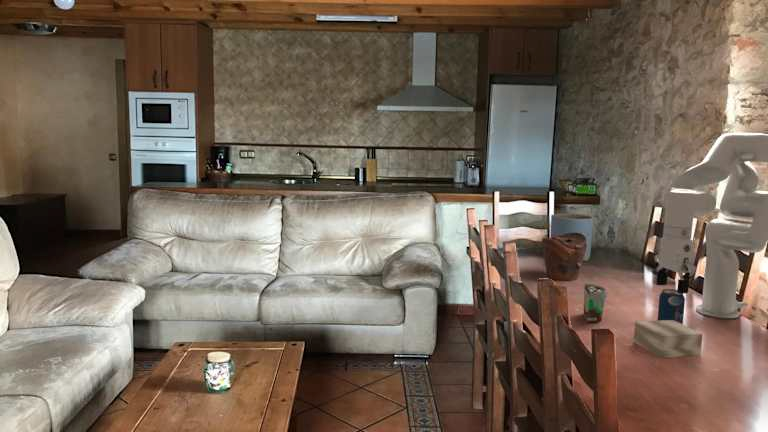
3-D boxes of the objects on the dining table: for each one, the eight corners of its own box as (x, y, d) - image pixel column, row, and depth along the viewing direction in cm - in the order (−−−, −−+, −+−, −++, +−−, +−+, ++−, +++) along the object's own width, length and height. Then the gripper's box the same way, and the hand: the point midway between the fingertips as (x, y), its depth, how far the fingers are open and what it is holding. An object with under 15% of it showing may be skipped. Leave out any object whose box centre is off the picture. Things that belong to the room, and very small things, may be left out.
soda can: (680, 335, 175) (684, 296, 173) (655, 330, 178) (658, 292, 176) (683, 328, 180) (686, 290, 179) (658, 324, 184) (661, 287, 182)
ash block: (671, 339, 171) (673, 319, 170) (700, 355, 159) (702, 334, 158) (633, 341, 169) (635, 321, 168) (660, 357, 157) (661, 336, 156)
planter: (596, 262, 270) (599, 219, 268) (555, 262, 271) (557, 219, 268) (583, 254, 289) (586, 213, 286) (544, 253, 290) (546, 213, 287)
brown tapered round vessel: (535, 279, 237) (538, 235, 235) (542, 269, 256) (545, 228, 253) (582, 285, 231) (586, 240, 228) (585, 274, 249) (589, 232, 247)
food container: (608, 325, 182) (610, 294, 181) (587, 324, 184) (589, 293, 182) (602, 313, 194) (604, 284, 193) (582, 312, 196) (584, 283, 194)
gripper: (709, 237, 167) (702, 296, 169) (669, 228, 184) (664, 281, 186) (685, 237, 166) (679, 296, 168) (648, 227, 183) (642, 282, 185)
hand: (671, 288), depth 177 cm, fingers open, 9 cm apart
